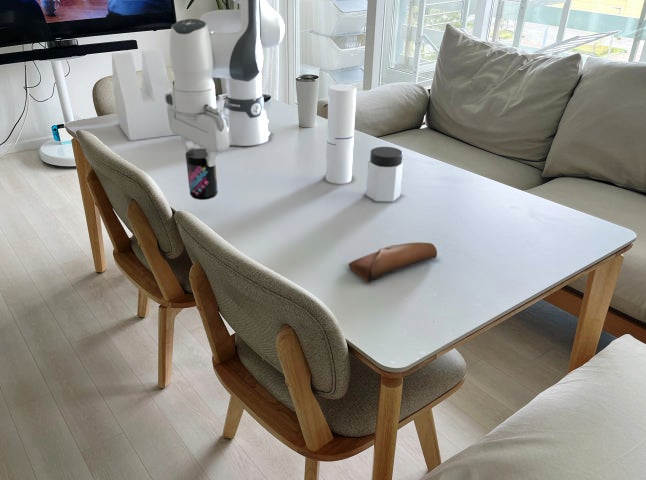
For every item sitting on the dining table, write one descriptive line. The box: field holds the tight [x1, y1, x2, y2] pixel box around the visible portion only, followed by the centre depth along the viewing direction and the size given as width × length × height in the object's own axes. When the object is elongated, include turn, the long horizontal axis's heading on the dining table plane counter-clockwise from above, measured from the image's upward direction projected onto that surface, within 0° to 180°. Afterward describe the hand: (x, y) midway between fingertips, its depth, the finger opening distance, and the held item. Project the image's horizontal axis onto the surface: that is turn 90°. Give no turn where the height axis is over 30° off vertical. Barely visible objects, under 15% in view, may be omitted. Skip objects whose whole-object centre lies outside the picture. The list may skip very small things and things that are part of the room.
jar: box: [365, 146, 404, 203], centre depth 152 cm, size 9×8×12 cm
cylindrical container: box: [325, 83, 357, 185], centre depth 158 cm, size 7×7×25 cm
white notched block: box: [111, 49, 178, 141], centre depth 195 cm, size 19×15×25 cm
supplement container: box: [185, 148, 219, 201], centre depth 139 cm, size 7×7×10 cm
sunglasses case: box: [348, 241, 438, 283], centre depth 123 cm, size 18×7×7 cm
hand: (200, 160), depth 137 cm, fingers closed on supplement container, 7 cm apart
